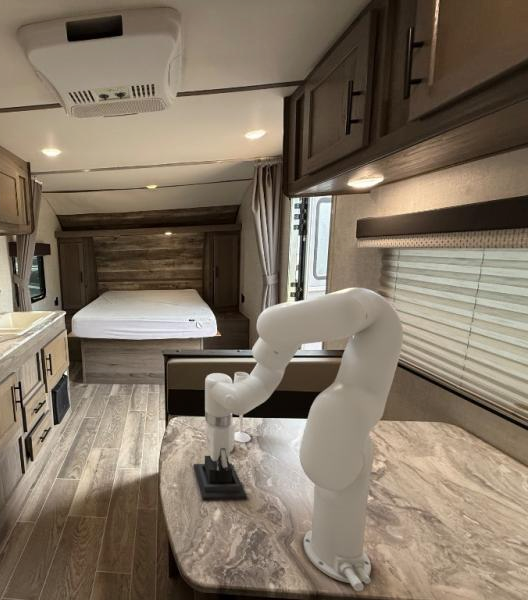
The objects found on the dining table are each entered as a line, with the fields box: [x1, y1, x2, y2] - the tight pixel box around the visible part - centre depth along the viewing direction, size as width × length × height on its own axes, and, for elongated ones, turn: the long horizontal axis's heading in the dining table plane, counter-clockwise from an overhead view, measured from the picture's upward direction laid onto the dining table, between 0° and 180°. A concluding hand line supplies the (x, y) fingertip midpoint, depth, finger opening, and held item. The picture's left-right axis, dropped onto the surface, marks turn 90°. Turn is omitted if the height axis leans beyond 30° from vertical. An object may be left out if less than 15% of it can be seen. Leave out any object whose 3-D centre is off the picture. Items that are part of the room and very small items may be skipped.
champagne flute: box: [233, 371, 252, 443], centre depth 118 cm, size 7×7×24 cm
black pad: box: [204, 455, 232, 482], centre depth 96 cm, size 6×6×4 cm
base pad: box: [193, 462, 247, 501], centre depth 97 cm, size 14×12×2 cm
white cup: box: [229, 417, 236, 453], centre depth 113 cm, size 8×8×10 cm
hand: (217, 472), depth 97 cm, fingers closed on black pad, 6 cm apart
